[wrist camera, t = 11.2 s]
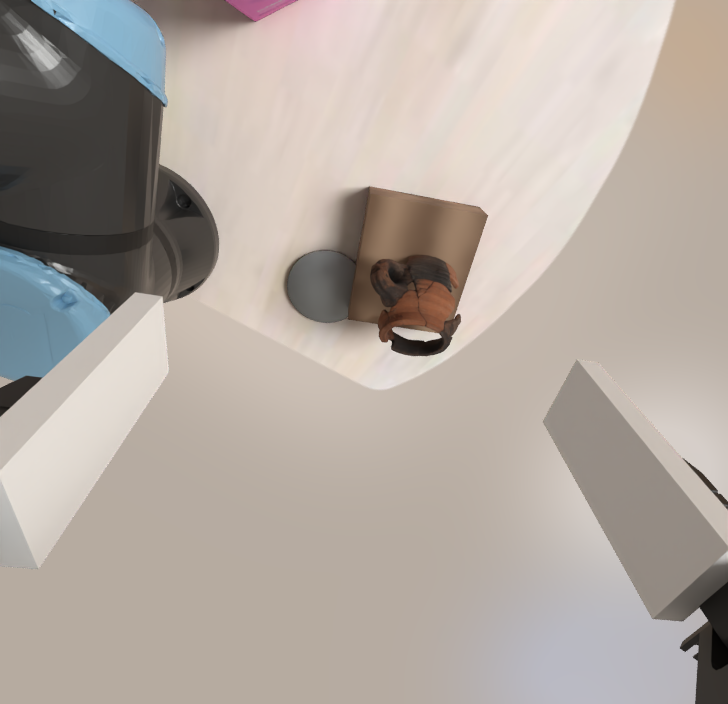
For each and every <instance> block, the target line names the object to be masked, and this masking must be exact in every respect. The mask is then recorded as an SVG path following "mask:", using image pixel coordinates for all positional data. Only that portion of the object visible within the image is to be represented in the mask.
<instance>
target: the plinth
mask: <svg viewBox="0 0 728 704" xmlns="http://www.w3.org/2000/svg"><path fill="white" fill-rule="evenodd" d="M487 217H488V215H487V214H486V213H485V212H484V211H483V210H482V209H481V208H480V207H476V206H471V205H465V204H460V203H455V202H450V201H444V200H439V199H434V198H428V197H423V196H418V195H412V194H407V193H402V192H396V191H391V190H386V189H380V188H375V187H369V193H368V198H367V204H366V210H365V215H364V221H363V227H362V232H361V238H360V243H359V249H358V255H357V260H356V268H355V273H354V279H353V285H352V290H351V296H350V302H349V307H348V319H349V320H355V321H362V322H369V323H375V324H378V319H379V317H380V314H381V312H382V310H384V309H385V310H387V312H389V311H390V309H391V307H385V306H384V305H383V304H382V301H381V299H380V295H379V294H377V293H376V291H375V290H374V288H373V286H372V284H371V280H370V273H371V268H372V266H373V265H374V264H375V263H376V262H377V261H379V260H381V259H392V260H394V261H396V262H398V263H400V264H405V265H407V262H408V260H409V257H411V256H418V255H419V256H420V255H428V256H432V257H437V258H439V259H441V260H443V261H445V262H446V263H448V264H449V265H450V266H451V267H452V268H453V269H454V271H455V272H456V277H457V280H458V283H459V287H458V288H457V289H455V288H454V287H453V285H452V284H451V286H452V292H451V295H452V296H453V297H454V298H455V308H454V310H453V311H452V313H451V314H450V315H449V317H448V318H447V319H446V320H445V321H449V320H452V319H454V316H455V313H456V310H457V307H458V304H459V301H460V298H461V295H462V292H463V289H464V286H465V283H466V280H467V277H468V274H469V271H470V268H471V265H472V262H473V259H474V256H475V253H476V250H477V247H478V244H479V241H480V238H481V235H482V232H483V229H484V226H485V223H486V220H487ZM409 289H412V290H415V286H414V283H413V282H411V283H410V284H409V285H408V290H409ZM397 327H401V328H408V329H415V330H421V331H428V332H434V333H437V332H436V331H434V330H432V329H430V328H427V327H425V326H418V325H402V326H397Z"/></svg>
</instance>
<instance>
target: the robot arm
mask: <svg viewBox="0 0 728 704" xmlns="http://www.w3.org/2000/svg"><path fill="white" fill-rule="evenodd" d="M165 65H166V47H165V41H164V38H163V35H162V33H161V31H160V29H159V27H158V26H157V24H156V22H155V21H154V20H153V19H152V18H151V17H150V15H149V14H147V13H146V12H145V11H144V10H143V9H142V8H140V7H139V6H138V5H136V4H135V3H133V2H132V1H130V0H0V376H2V377H4V378H7V379H10V380H13V381H14V382H12V383H9V384H8V385H5V386H3V387H1V388H0V566H4V567H17V568H29V569H39V568H40V566H41V565H42V563H43V562H44V560H45V559H46V557H47V556H48V554H49V553H50V551H51V550H52V548H53V547H54V545H55V544H56V542H57V541H58V539H59V537H60V536H61V535H62V533H63V531H64V530H65V528H66V527H67V525H68V524H69V522H70V521H71V519H72V518H73V516H74V515H75V513H76V512H77V510H78V509H79V507H80V506H81V504H82V503H83V501H84V500H85V498H86V497H87V495H88V494H89V492H90V491H91V489H92V488H93V486H94V485H95V483H96V482H97V480H98V479H99V477H100V476H101V474H102V472H103V471H104V470H105V468H106V466H107V465H108V463H109V462H110V460H111V459H112V457H113V456H114V454H115V453H116V451H117V450H118V448H119V447H120V445H121V444H122V442H123V441H124V439H125V438H126V436H127V435H128V433H129V432H130V430H131V429H132V427H133V426H134V424H135V423H136V421H137V420H138V418H139V417H140V415H141V414H142V412H143V410H144V409H145V407H146V406H147V404H148V403H149V401H150V400H151V398H152V397H153V395H154V394H155V392H156V391H157V389H158V388H159V386H160V385H161V383H162V382H163V380H164V379H165V377H166V376H167V374H168V373H169V366H168V355H167V344H166V331H165V320H164V308H163V303H165V302H169V301H172V300H176V299H179V298H182V297H184V296H187V295H189V294H191V293H192V292H194V291H195V290H197V289H198V288H199V287H200V286H201V285H202V284H203V283H204V282H205V281H206V280H207V278H208V277H209V276H210V274H211V273H212V271H213V269H214V267H215V265H216V262H217V258H218V253H219V237H218V231H217V227H216V224H215V221H214V218H213V216H212V213H211V212H210V210H209V208H208V206H207V204H206V203H205V201H204V200H203V198H202V197H201V196H200V195H199V193H198V192H197V191H196V190H195V189H194V188H193V187H192V186H191V185H190V184H189V183H188V182H187V181H186V180H185V179H183V178H182V177H181V176H179V175H178V174H176V173H175V172H173V171H172V170H170V169H168V168H166V167H164V166H162V165H160V164H159V157H160V144H161V131H162V118H163V107H167V103H168V101H167V97H166V95H165ZM543 423H544V425H545V426H546V428H547V430H548V432H549V434H550V436H551V437H552V439H553V441H554V443H555V445H556V446H557V448H558V450H559V452H560V454H561V455H562V457H563V459H564V461H565V463H566V464H567V466H568V468H569V470H570V472H571V473H572V475H573V477H574V479H575V481H576V482H577V484H578V486H579V488H580V490H581V491H582V493H583V495H584V496H585V498H586V500H587V502H588V504H589V506H590V507H591V509H592V511H593V513H594V515H595V516H596V518H597V520H598V522H599V524H600V525H601V527H602V529H603V531H604V533H605V534H606V536H607V538H608V540H609V541H610V543H611V545H612V547H613V549H614V550H615V552H616V554H617V556H618V558H619V560H620V561H621V563H622V565H623V567H624V568H625V570H626V572H627V574H628V576H629V578H630V579H631V581H632V583H633V585H634V587H635V588H636V590H637V592H638V594H639V596H640V597H641V599H642V601H643V603H644V605H645V606H646V608H647V610H648V612H649V613H650V615H651V617H652V619H660V620H672V621H684V620H685V619H686V618H687V617H688V616H690V615H691V614H692V613H693V612H694V611H696V610H697V609H698V608H699V607H700V609H701V610H702V611H703V613H704V615H705V616H706V617H707V619H708V622H707V623H705V624H704V625H703V626H702V627H700V628H699V629H698V630H697V631H695V632H694V633H693V634H691V635H690V636H689V637H688V638H686V639H685V640H684V641H683V642H682V644H681V647H680V649H682V650H683V651H685V652H686V651H687V650H688V649H690V648H691V647H692V646H693V645H699V652H698V653H697V654H696V655H694V656H693V658H695V659H696V660H697V661H698V669H697V684H696V701H695V704H728V501H727V500H726V499H725V498H724V497H723V496H722V495H721V494H718V490H717V489H716V488H715V487H714V486H713V485H712V484H711V482H710V481H709V480H708V479H707V478H706V477H705V476H704V475H703V474H702V473H701V472H700V471H699V470H697V469H696V468H695V467H694V466H692V465H691V464H690V463H688V462H687V461H686V460H685V459H683V458H682V457H681V456H680V455H679V454H678V453H677V452H676V450H675V449H674V448H673V447H672V446H671V445H670V444H669V442H668V441H667V440H666V439H665V438H664V437H663V436H662V435H661V433H660V432H659V431H658V430H657V429H656V428H655V427H654V425H653V424H652V423H651V422H650V421H649V420H648V419H647V418H646V416H645V415H644V414H643V413H642V412H641V411H640V409H639V408H638V407H637V406H636V405H635V404H634V403H633V401H632V400H631V399H630V398H629V397H628V396H627V395H626V393H625V392H624V391H623V390H622V389H621V388H620V387H619V386H618V384H617V383H616V382H615V381H614V380H613V379H612V378H611V376H610V375H609V374H608V373H607V372H606V371H605V370H604V369H603V367H602V366H601V365H600V364H599V363H598V362H592V361H584V360H578V359H577V360H576V362H575V363H574V365H573V367H572V369H571V371H570V373H569V375H568V376H567V378H566V380H565V382H564V384H563V385H562V387H561V389H560V391H559V393H558V395H557V397H556V398H555V400H554V402H553V404H552V406H551V408H550V409H549V411H548V413H547V415H546V417H545V419H544V420H543Z"/></svg>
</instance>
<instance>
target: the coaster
mask: <svg viewBox="0 0 728 704" xmlns="http://www.w3.org/2000/svg"><path fill="white" fill-rule="evenodd" d="M355 268H356V264H355V263H354V262H353V261H352V260H351V259H349V258H348V257H347V256H345V255H343V254H341V253H338V252H335V251H330V250H319V251H314V252H311V253H308V254H306V255H304V256H303V257H301V258H300V259H299V260H298V261H297V262H296V263H295V264H294V266H293V267H292V269H291V271H290V274H289V277H288V282H287V289H288V294H289V298H290V300H291V302H292V304H293V305H294V307H295V308H296V309H297V310H298V311H299V312H300V313H301V314H302V315H304V316H305V317H307V318H309V319H311V320H314V321H317V322H323V323H332V322H337V321H341V320H343V319H345V318H347V317H348V307H349V302H350V296H351V290H352V285H353V279H354V273H355Z"/></svg>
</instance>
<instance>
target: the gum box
mask: <svg viewBox="0 0 728 704" xmlns="http://www.w3.org/2000/svg"><path fill="white" fill-rule="evenodd" d="M225 1H226V2H228V3H229V4H231V5H232V6H233V7H235V8H236V9H237V10H239V11H240V12H242V13H243V14H244V15H246V16H247V17H249V18H250V19H252V20H253V21H255V22H256V21H258V20H260V19H262V18H264V17H266V16H268V15H270V14H272V13H274V12H275V11H277V10H279V9H281V8H283V7H285V6H287V5H289V4H291V3H293V2H295V1H298V0H225Z"/></svg>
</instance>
